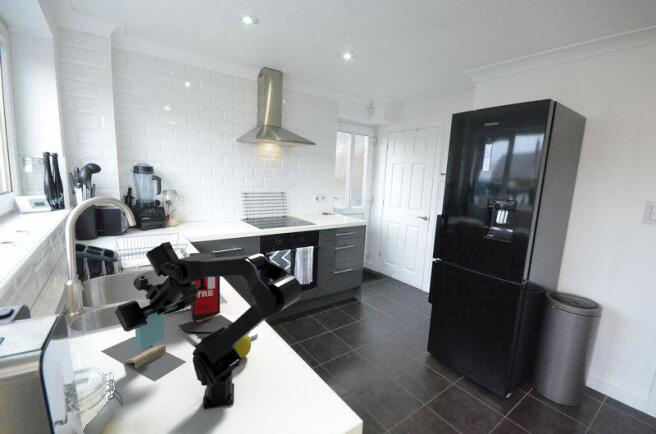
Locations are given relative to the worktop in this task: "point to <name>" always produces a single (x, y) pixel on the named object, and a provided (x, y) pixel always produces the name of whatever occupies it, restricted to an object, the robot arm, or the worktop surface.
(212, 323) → the picture frame
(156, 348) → the ramp
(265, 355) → the worktop surface
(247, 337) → the lemon
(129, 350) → the mat
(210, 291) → the cleaning product box
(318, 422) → the worktop surface
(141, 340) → the card deck
